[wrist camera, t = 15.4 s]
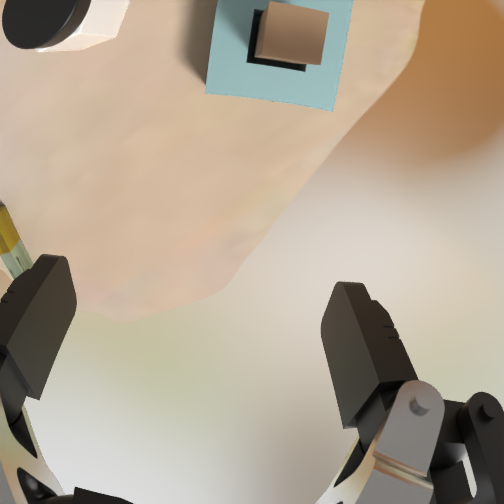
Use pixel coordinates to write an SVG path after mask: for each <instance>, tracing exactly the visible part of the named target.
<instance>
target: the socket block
mask: <svg viewBox="0 0 504 504" xmlns="http://www.w3.org/2000/svg"><path fill="white" fill-rule="evenodd" d="M269 1H272V2H279V3H285V4H290V5H296V6H301V7H306V8H310V9H315V10H319V11H323V12H328V13H329V18H328V24H327V30H326V36H325V42H324V48H323V54H322V60H321V65H312V64H293V63H286V62H280V61H274V60H267V59H260V58H253V51H254V44H255V38H256V31H257V25H258V21H259V19H260V17H261V16H262V14H263V12H264V10H265V8H266V7H267V5H268V3H269ZM352 5H353V0H218V1H217V8H216V14H215V21H214V27H213V34H212V41H211V49H210V56H209V64H208V72H207V81H206V89H205V94H217V95H228V96H238V97H246V98H255V99H262V100H269V101H276V102H283V103H289V104H295V105H301V106H306V107H312V108H317V109H322V110H327V111H332V112H333V110H334V105H335V100H336V95H337V90H338V85H339V79H340V74H341V69H342V63H343V58H344V52H345V47H346V41H347V35H348V30H349V24H350V17H351V11H352Z"/></svg>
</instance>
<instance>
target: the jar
mask: <svg viewBox="0 0 504 504" xmlns="http://www.w3.org/2000/svg"><path fill="white" fill-rule="evenodd" d="M129 3H130V0H6V3H5V5H4V9H3V15H2V26H3V31H4V34H5V36H6V38H7V39H8V41H9V42H10V43H11V44H12V45H14V46H16V47H18V48H21V49H35V50H36V51H37V52H51V51H70V50H83V49H85V48H88V47H90V46H93V45H96V44H98V43H101V42H104V41H107V40H109V39H112V38H115V37H116V36H117V34H118V31H119V28H120V26H121V23H122V21H123V18H124V15H125V13H126V10H127V8H128V6H129Z"/></svg>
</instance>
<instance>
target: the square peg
mask: <svg viewBox="0 0 504 504" xmlns="http://www.w3.org/2000/svg"><path fill="white" fill-rule="evenodd" d="M328 18H329V13H328V12H323V11H319V10H315V9H310V8H306V7H301V6H296V5H290V4H285V3H279V2H272V1H269V3H268V5H267V7H266V8H265V10H264V12H263V14H262V16H261V17H260V19H259V21H258V25H257V31H256V38H255V44H254V51H253V58H260V59H267V60H274V61H280V62H286V63H293V64H312V65H321V60H322V54H323V48H324V42H325V36H326V30H327V24H328Z"/></svg>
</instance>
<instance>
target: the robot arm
mask: <svg viewBox="0 0 504 504" xmlns="http://www.w3.org/2000/svg"><path fill="white" fill-rule="evenodd" d="M76 305H77V299H76V293H75V289H74V285H73V281H72V277H71V273H70V268H69V264H68V261H67V259H66V257H64V256H58V255H49V254H42V255H41V256H40V257H39V258H38V259H37V261H36V262H35V263H34V265H33V266H32V268H31V269H27V270H25V271H24V272H23V273H21V274H20V275H19V276H18V277H16V278H15V279H14V281H13V282H12V284H11V285H10V287H9V288H8V289H7V293H5V294H4V295H3V297H2V298H1V302H0V504H133V503H131V502H129V501H126V500H124V499H122V498H119V497H114V496H109V495H105V494H101V493H97V492H93V491H89V490H85V489H81V488H78V487H75V489H74V495H65V494H64V492H63V490H62V488H61V486H60V484H59V482H58V481H57V479H56V478H55V476H54V474H53V473H52V472H51V470H49V468H48V466H47V464H46V462H45V460H44V458H43V456H42V453H41V451H40V448H39V445H38V443H37V440H36V437H35V435H34V432H33V429H32V426H31V423H30V420H29V417H28V414H27V411H26V408H25V406H24V405H23V403H24V401H25V398H26V396H28V397H31V398H34V399H37V400H40V397H41V394H42V392H43V389H44V386H45V384H46V381H47V378H48V376H49V373H50V371H51V368H52V365H53V363H54V361H55V358H56V356H57V353H58V351H59V349H60V346H61V344H62V342H63V339H64V337H65V335H66V333H67V330H68V328H69V326H70V324H71V321H72V319H73V317H74V315H75V311H76ZM321 338H322V342H323V346H324V350H325V354H326V358H327V362H328V366H329V370H330V374H331V378H332V382H333V386H334V390H335V394H336V398H337V403H338V407H339V411H340V416H341V420H342V425H343V429H348V428H357V429H358V433H359V436H358V437H357V438H356V440H355V442H354V443H353V446H352V447H351V449H350V451H349V453H348V455H347V456H346V458H345V460H344V462H343V464H342V465H341V467H340V469H339V471H338V472H337V474H336V476H335V477H334V479H333V481H332V483H331V484H330V486H329V487H328V489H327V490H326V491H325V493H324V494H323V495H322V496H321V497H320V498H319V500H318V501H317V502H316V503H315V504H504V411H503V409H502V407H501V405H500V403H499V402H498V400H497V399H496V398H494V397H493V396H492V395H490V394H488V393H485V392H478V393H475V394H474V395H473V396H472V397H471V398H470V399H469V400H468V401H467V402H466V403H463V402H456V401H450V400H444V399H443V398H442V397H441V395H440V393H439V392H438V391H437V390H436V389H435V388H434V387H433V386H432V385H430V384H428V383H426V382H424V381H420V380H419V379H418V377H417V375H416V373H415V370H414V368H413V366H412V364H411V361H410V359H409V356H408V355H407V352H406V350H405V348H404V345H403V343H402V341H401V339H399V334H398V332H397V330H396V329H395V328H394V324H393V322H392V319H391V317H390V315H389V313H388V312H387V311H386V310H385V309H384V308H383V307H382V305H380V303H379V302H378V301H376V300H371V298H370V296H369V294H368V292H367V290H366V287H365V286H364V284H363V283H355V282H340V281H339V282H337V283H336V285H335V286H334V289H333V292H332V294H331V298H330V300H329V303H328V305H327V308H326V310H325V313H324V316H323V318H322V323H321ZM466 456H469V460H470V463H471V467H472V470H473V474H474V478H475V481H476V485H477V492H476V495H475V497H474V498H473V497H472V495H471V492H470V488H469V484H468V480H467V476H466V472H465V468H464V465H463V461H462V459H464V458H465V457H466Z"/></svg>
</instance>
